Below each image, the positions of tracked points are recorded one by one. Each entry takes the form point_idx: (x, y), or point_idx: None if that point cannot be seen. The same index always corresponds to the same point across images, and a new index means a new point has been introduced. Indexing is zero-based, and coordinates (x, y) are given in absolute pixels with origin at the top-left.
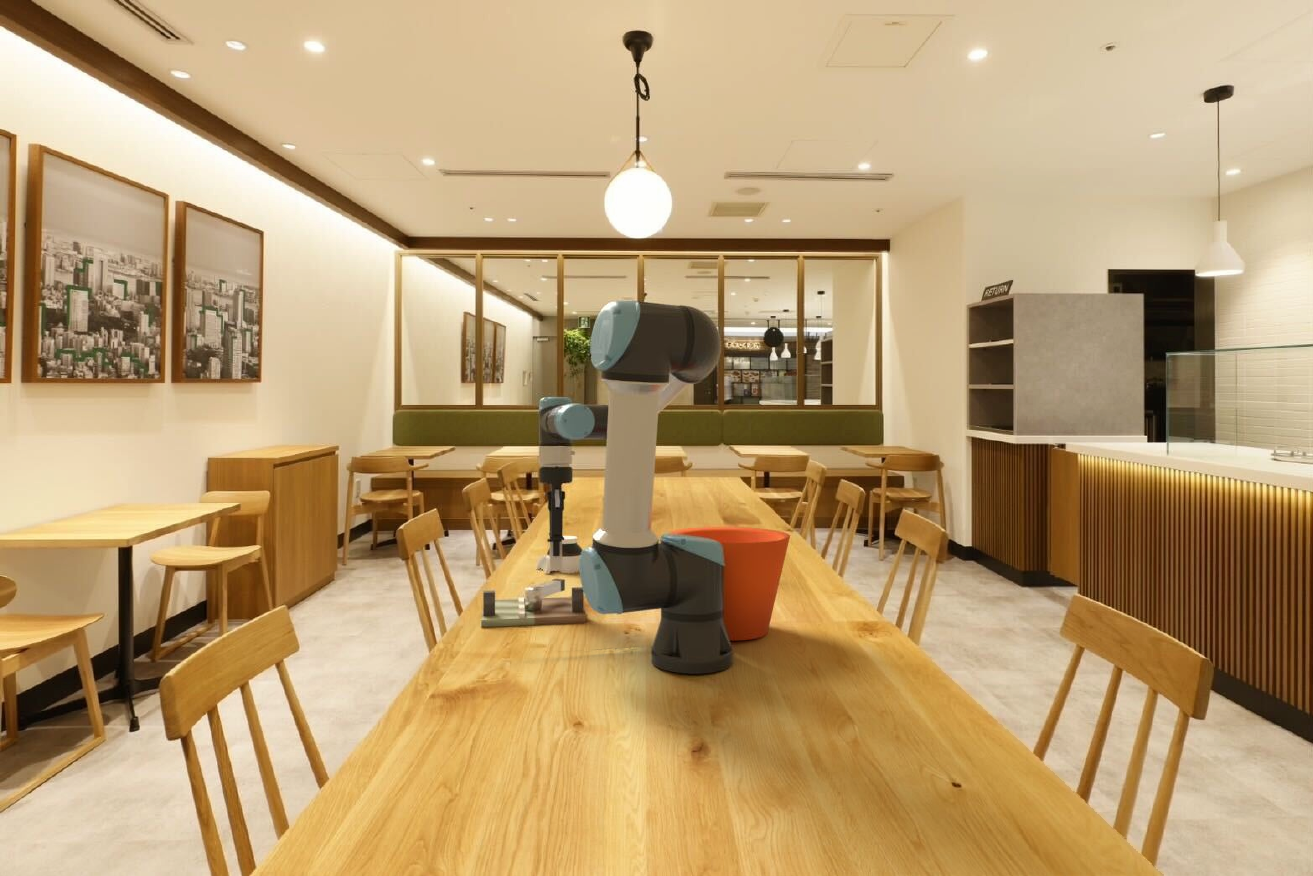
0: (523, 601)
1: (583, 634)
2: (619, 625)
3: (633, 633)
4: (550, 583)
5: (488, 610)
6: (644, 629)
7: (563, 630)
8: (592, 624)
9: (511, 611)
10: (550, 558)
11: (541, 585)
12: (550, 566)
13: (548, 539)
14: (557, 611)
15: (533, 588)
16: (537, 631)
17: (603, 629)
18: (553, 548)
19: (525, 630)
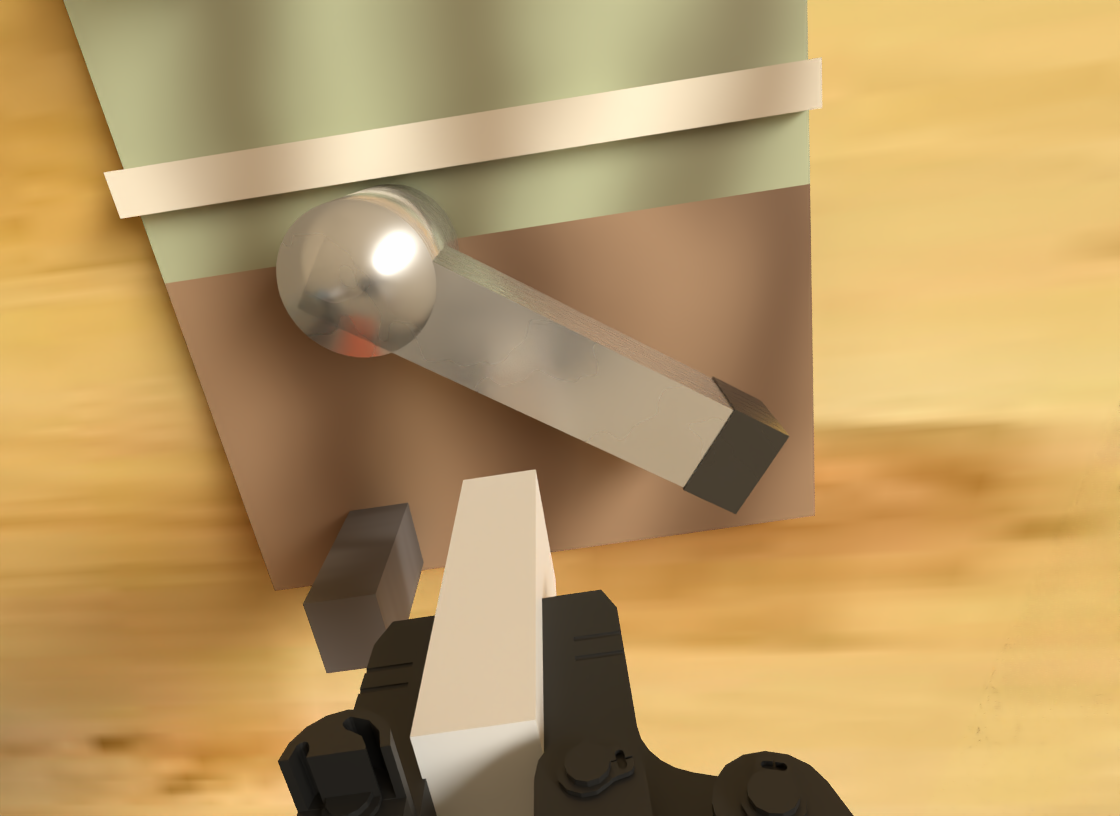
0: (540, 146)
1: (29, 565)
2: (249, 713)
3: (105, 768)
4: (573, 412)
5: None
6: (189, 806)
7: (90, 460)
8: (253, 596)
9: (340, 69)
10: (449, 562)
11: (479, 341)
12: (460, 508)
13: (313, 771)
14: (365, 418)
15: (333, 283)
16: (31, 312)
17: (155, 649)
18: (356, 709)
19: (37, 230)
